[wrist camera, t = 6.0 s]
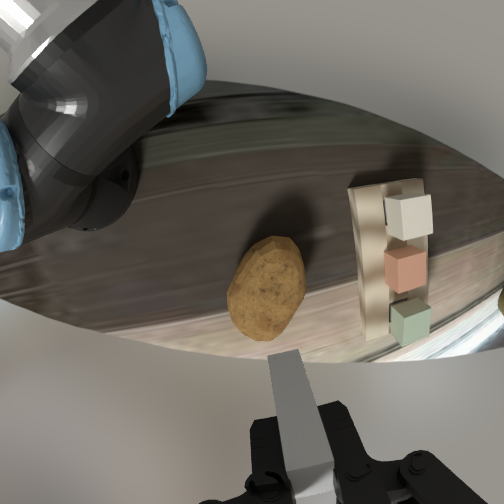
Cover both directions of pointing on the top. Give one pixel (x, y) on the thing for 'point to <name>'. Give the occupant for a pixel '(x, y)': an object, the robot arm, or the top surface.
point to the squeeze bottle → (501, 302)
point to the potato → (267, 288)
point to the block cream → (408, 215)
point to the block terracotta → (405, 268)
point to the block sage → (410, 320)
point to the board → (380, 253)
